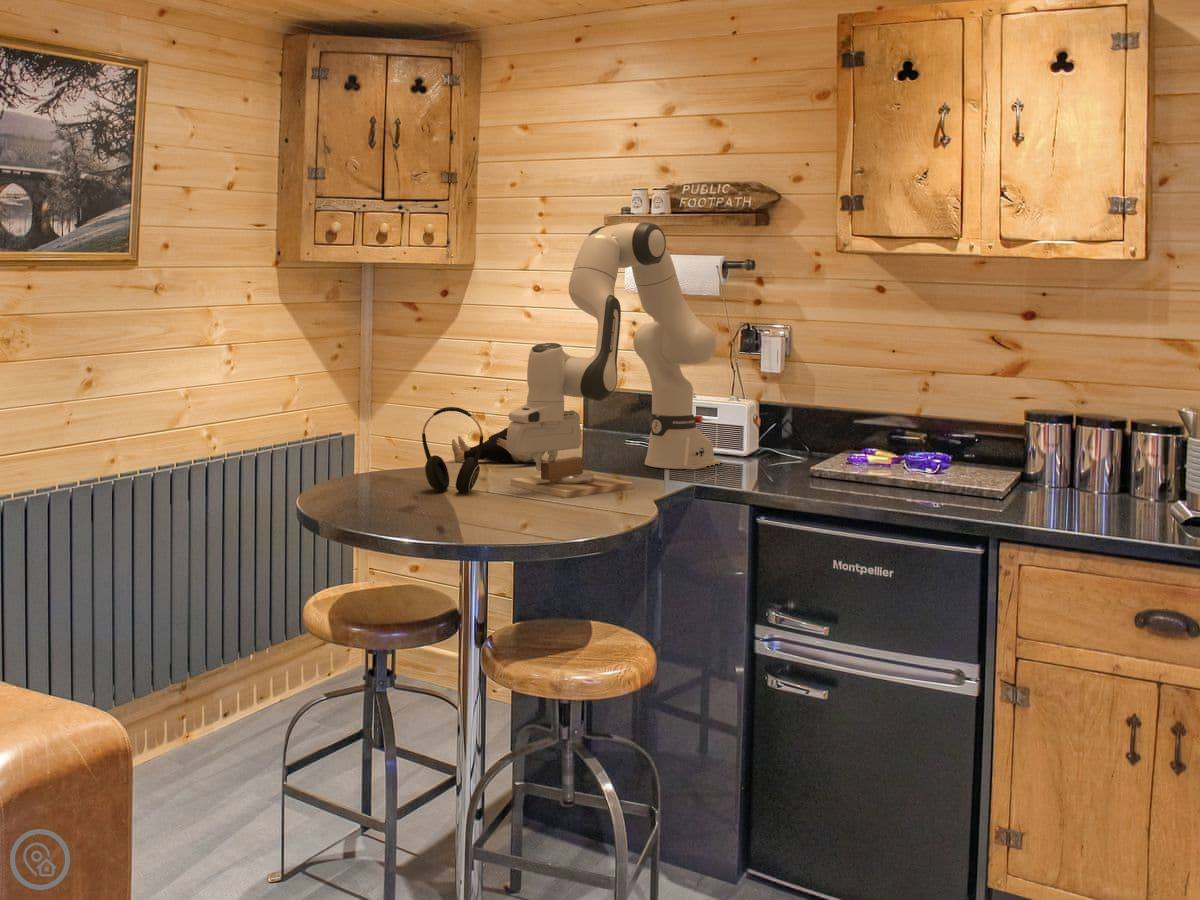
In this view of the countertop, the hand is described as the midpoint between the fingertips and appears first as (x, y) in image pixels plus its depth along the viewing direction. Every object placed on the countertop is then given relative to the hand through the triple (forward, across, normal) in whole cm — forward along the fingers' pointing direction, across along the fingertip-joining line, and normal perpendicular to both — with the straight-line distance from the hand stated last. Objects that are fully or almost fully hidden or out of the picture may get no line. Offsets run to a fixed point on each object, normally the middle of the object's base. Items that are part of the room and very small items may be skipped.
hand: (544, 470), depth 267 cm
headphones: (+5, +20, -10) cm, 22 cm away
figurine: (+5, -18, -40) cm, 44 cm away
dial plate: (+5, -8, +1) cm, 9 cm away
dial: (+3, -5, +1) cm, 6 cm away
